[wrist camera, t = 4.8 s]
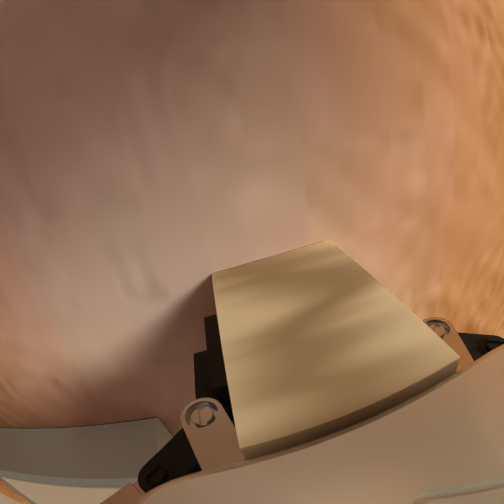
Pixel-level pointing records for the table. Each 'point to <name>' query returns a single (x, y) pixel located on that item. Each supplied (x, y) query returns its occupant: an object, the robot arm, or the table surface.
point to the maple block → (317, 347)
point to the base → (78, 460)
